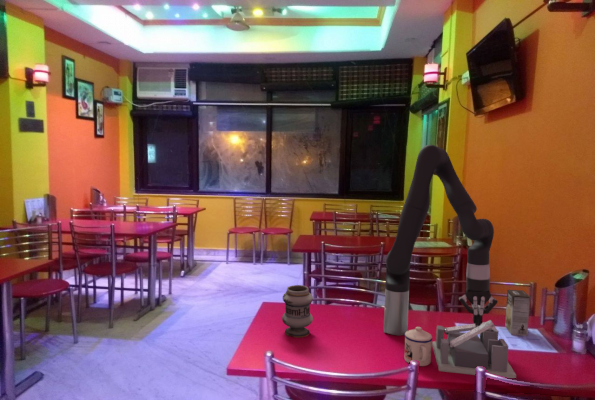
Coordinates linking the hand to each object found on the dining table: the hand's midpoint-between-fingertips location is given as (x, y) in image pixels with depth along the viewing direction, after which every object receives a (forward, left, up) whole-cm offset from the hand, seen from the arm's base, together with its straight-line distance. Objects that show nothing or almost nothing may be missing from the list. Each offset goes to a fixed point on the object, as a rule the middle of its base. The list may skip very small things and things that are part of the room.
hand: (477, 324), depth 148 cm
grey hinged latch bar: (-3, 0, -3) cm, 4 cm away
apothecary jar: (-65, +4, -11) cm, 66 cm away
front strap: (-4, -12, -1) cm, 13 cm away
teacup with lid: (-20, -11, -11) cm, 26 cm away
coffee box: (+21, +27, -11) cm, 35 cm away
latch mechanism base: (-3, -6, -11) cm, 13 cm away
